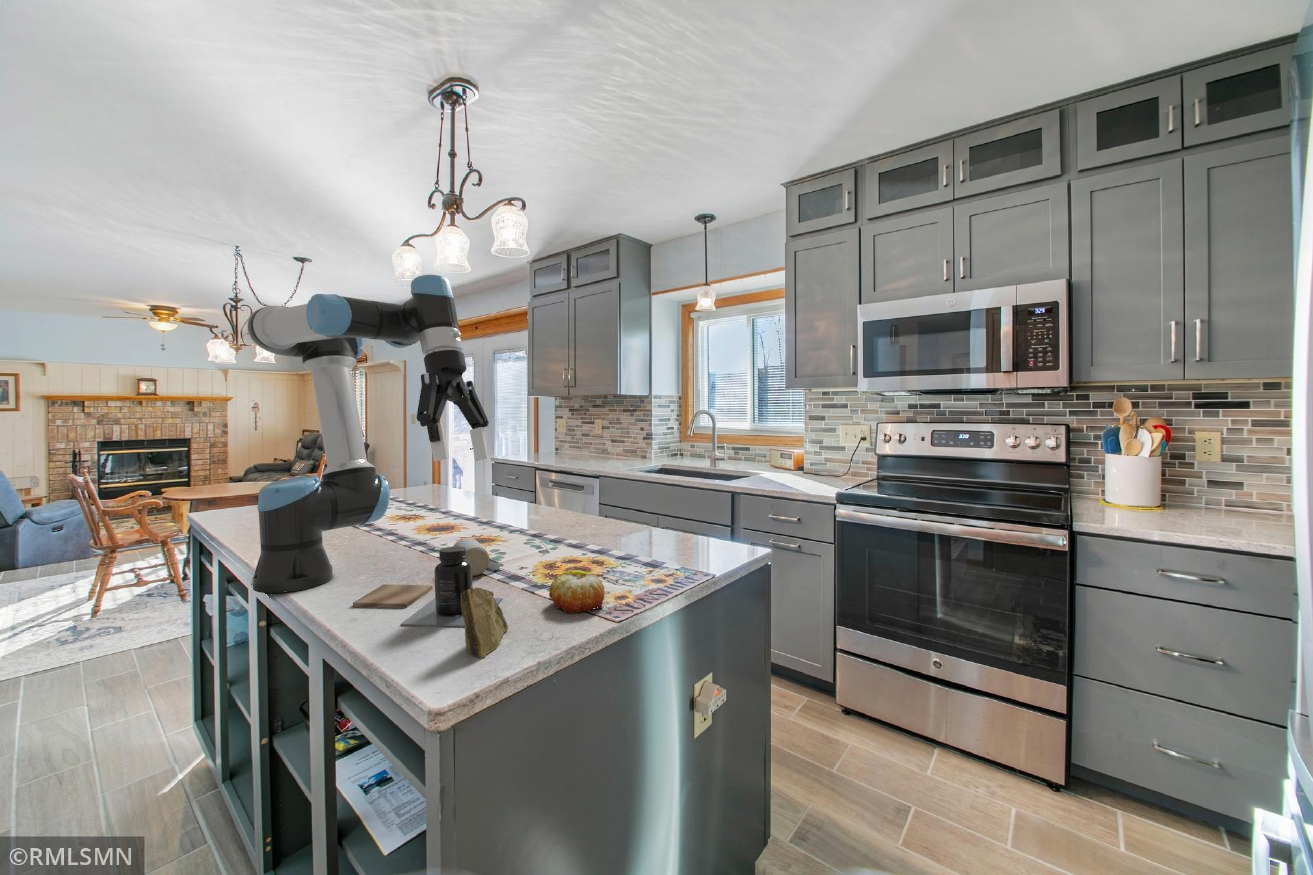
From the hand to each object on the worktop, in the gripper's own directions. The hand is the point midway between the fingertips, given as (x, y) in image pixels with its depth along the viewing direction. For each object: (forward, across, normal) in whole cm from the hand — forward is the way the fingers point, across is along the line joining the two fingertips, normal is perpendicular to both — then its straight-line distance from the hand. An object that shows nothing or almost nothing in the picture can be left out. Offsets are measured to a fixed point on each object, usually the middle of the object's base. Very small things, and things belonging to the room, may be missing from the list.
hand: (463, 459), depth 107 cm
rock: (+33, -10, -5) cm, 35 cm away
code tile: (+28, 0, +8) cm, 29 cm away
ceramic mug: (+24, +24, +17) cm, 38 cm away
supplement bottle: (+28, 0, +8) cm, 29 cm away
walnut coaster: (+24, +5, +24) cm, 34 cm away
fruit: (+33, +9, -13) cm, 37 cm away
